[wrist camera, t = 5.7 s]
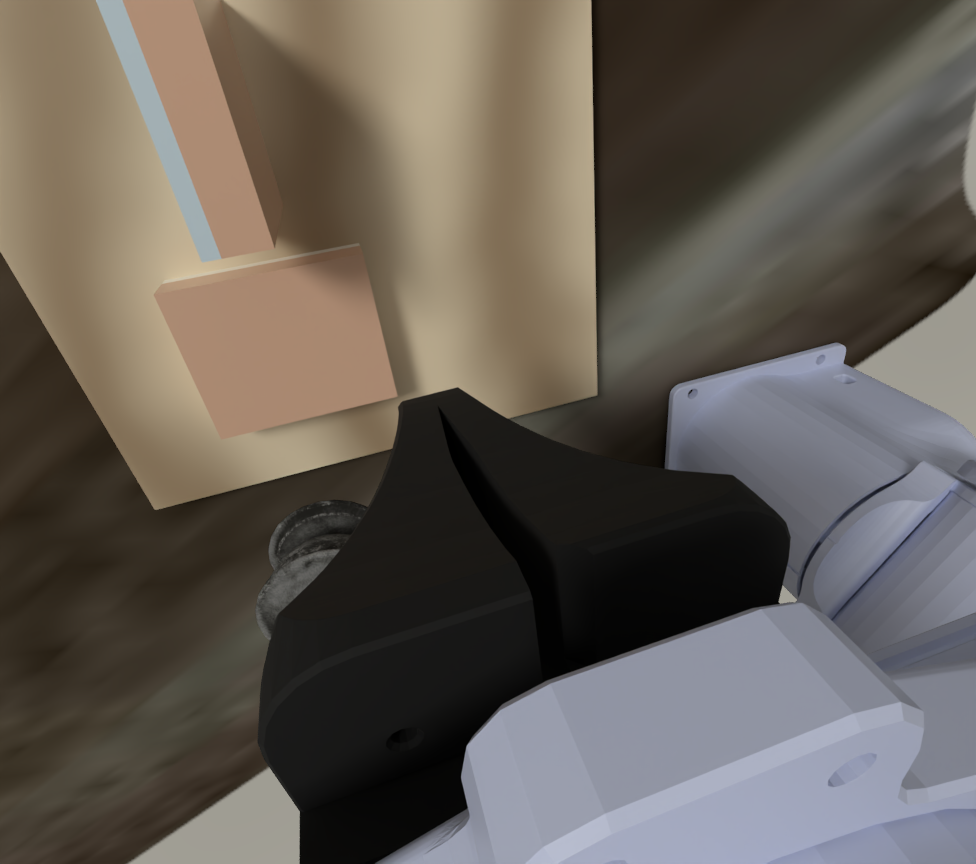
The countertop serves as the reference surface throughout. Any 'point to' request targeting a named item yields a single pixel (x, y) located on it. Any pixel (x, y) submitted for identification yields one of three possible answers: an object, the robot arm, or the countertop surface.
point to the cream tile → (280, 338)
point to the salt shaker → (303, 553)
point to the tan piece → (199, 120)
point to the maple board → (317, 212)
